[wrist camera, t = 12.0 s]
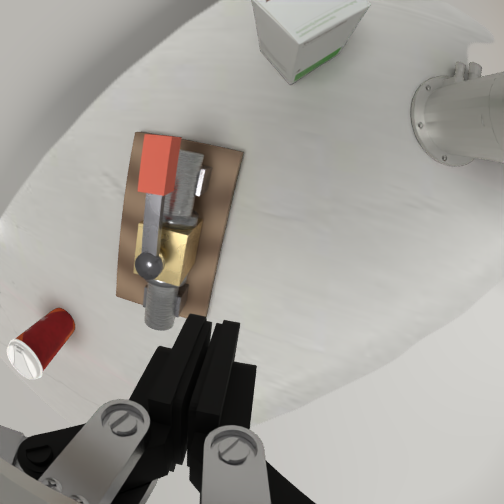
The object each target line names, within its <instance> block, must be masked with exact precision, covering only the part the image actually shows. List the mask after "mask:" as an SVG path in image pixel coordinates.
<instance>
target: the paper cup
mask: <svg viewBox="0 0 504 504" xmlns="http://www.w3.org/2000/svg"><path fill="white" fill-rule="evenodd" d="M74 330H75V323H74V320H73V318H72V317H71V315H70V314H69V313H68V312H67V311H65V310H64V309H61V308H56V309H54V310H53V311H51V312H50V313H48V314H47V315H46V316H44V317H43V318H42V319H40V320H39V321H38V322H36V323H35V324H34V325H32V326H31V327H30V328H29V329H27V330H26V331H25V332H23V333H22V334H21V335H20V336H18V337H17V338H16V339H11V340H10V342H9V346H8V347H7V355H8V358H9V360H10V362H11V364H12V365H13V367H14V368H15V369H16V370H17V371H18V372H19V373H20V374H21V375H22V376H24V377H25V378H27V379H30V380H34V379H37V378H40V377H41V376H42V375H43V371H44V369H45V368H46V367H47V365H48V364H49V363H50V362H51V360H52V359H53V358H54V356H55V355H56V354H57V352H58V351H59V350H60V349H61V347H62V346H63V345H64V344H65V342H66V341H67V340H68V338H69V337H70V336H71V334H72V333H73V332H74Z"/></svg>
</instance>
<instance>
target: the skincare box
mask: <svg viewBox="0 0 504 504" xmlns="http://www.w3.org/2000/svg"><path fill="white" fill-rule="evenodd" d="M251 2H252V6H253V11H254V16H255V22H256V27H257V33H258V39H259V46H260V51H261V52H262V53H263V55H264V56H265V57H266V58H267V59H268V60H269V61H270V63H271V64H272V65H273V66H274V67H275V68H276V69H277V70H278V72H279V73H280V74H281V75H282V76H283V77H284V79H285V80H286V81H287V82H288V83H289V84H290V85H291V84H293V83H294V82H296V81H297V80H299V79H300V78H302V77H303V76H305V75H307V74H308V73H310V72H311V71H313V70H314V69H316V68H317V67H319V66H320V65H322V64H323V63H325V62H327V61H328V60H330V59H332V58H333V57H335V56H337V55H338V54H339V53H340V51H341V50H342V48H343V46H344V45H345V43H346V42H347V40H348V39H349V37H350V36H351V34H352V33H353V31H354V30H355V28H356V26H357V25H358V23H359V22H360V20H361V19H362V17H363V16H364V14H365V13H366V11H367V10H368V8H369V7H370V6H371V4H370V3H369V2H368V0H251Z"/></svg>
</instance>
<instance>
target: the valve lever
mask: <svg viewBox="0 0 504 504" xmlns="http://www.w3.org/2000/svg"><path fill="white" fill-rule="evenodd" d="M181 138H182V137H174V136H165V135H155V134H145V135H144V142H143V149H142V156H141V164H140V173H139V182H138V192H143V193H146V199H145V210H144V222H143V235H142V251H141V254H140V255H139V256H138V257H137V258H136V260H135V269H136V271H137V273H138V274H139V275H140V276H141V277H142V278H144V279H147V280H152V279H155V278H156V277H158V275H159V274H160V273H161V272H162V271H163V269H164V267H165V259H164V257H163V255H162V254H161V253H160V244H161V233H162V222H163V212H164V203H165V195H167V194H169V193H171V192H173V191H174V186H175V178H176V171H177V164H178V157H179V151H180V144H181Z"/></svg>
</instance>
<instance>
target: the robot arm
mask: <svg viewBox="0 0 504 504" xmlns="http://www.w3.org/2000/svg"><path fill="white" fill-rule="evenodd" d="M481 71H482V67H481V66H480V65H479V64H477V63H474V62H470V63H469V71H468V80H467V81H465V80H464V79H463V77H464V73H465V64H463V63H461V62H456V67H455V76H453V77H447V76H438V77H434V78H431V79H429V80H427V81H425V82H424V83H423V84H422V85H420V87H419V88H418V90H417V91H416V93H415V95H414V97H413V101H412V106H411V119H412V126H413V129H414V133H415V135H416V137H417V140H418V142H419V143H420V145H421V146H422V148H423V149H424V150H425V151H426V153H427V154H428V155H429V156H431V157H432V158H433V159H434V160H436V161H438V162H440V163H441V164H445V165H448V166H463V165H466V164H468V163H470V162H471V161H473V160H474V159H475V158H477V159H484V160H489V161H495V162H501V163H504V72H501V73H496V74H492V75H487V76H483V77H481ZM426 88H427V90H426ZM418 124H419V127H418ZM442 157H443V158H442ZM206 320H207V319H206V316H201V315H196V314H191V313H190V314H189V315H188V317H187V319H186V321H185V323H184V325H183V327H182V329H181V331H180V333H179V335H178V337H177V339H176V341H175V344H174V346H173V348H172V349H171V348H167V347H163V346H159V347H158V348H157V349H156V351H155V353H154V355H153V356H152V358H151V360H150V362H149V364H148V365H147V367H146V369H145V371H144V373H143V375H142V376H141V378H140V380H139V382H138V384H137V386H136V388H135V389H134V391H133V393H132V395H131V397H130V399H129V400H124V399H118V400H112V401H109V402H107V403H105V404H103V405H102V406H101V407H100V408H99V409H98V410H97V411H96V412H95V414H94V415H93V416H92V417H91V418H90V419H89V421H88V422H87V423H85V424H82V425H78V426H74V427H70V428H66V429H61V430H57V431H53V432H48V433H43V434H38V435H34V436H31V437H25V436H24V434H23V433H21V432H18V431H15V430H12V429H9V428H6V427H4V426H1V425H0V504H145V503H146V502H147V500H148V498H149V496H150V494H151V493H152V491H153V489H154V487H155V486H156V483H157V480H158V478H161V477H163V476H166V475H168V472H169V471H172V472H174V469H175V466H176V464H180V465H182V464H183V461H184V458H185V454H186V451H187V466H188V467H190V477H189V480H190V481H191V483H192V484H193V485H194V486H195V488H196V489H197V490H198V491H199V492H200V504H315V503H314V502H313V501H312V500H310V499H309V498H308V497H307V496H306V495H304V494H303V493H302V492H301V491H299V490H298V489H297V488H296V487H295V486H294V485H293V484H291V483H290V482H289V481H288V480H287V479H286V478H285V477H283V476H282V475H281V474H280V473H279V472H278V471H277V470H275V469H274V468H273V467H272V466H271V465H270V464H269V463H268V462H267V461H266V460H265V452H264V446H263V443H262V441H261V439H260V438H259V437H258V436H257V435H256V434H255V433H254V432H252V431H251V430H249V429H250V421H251V412H252V404H253V395H254V386H255V377H256V368H257V366H256V365H251V364H245V363H239V362H234V359H235V353H236V346H237V340H238V334H239V328H240V323H238V322H232V321H227V320H224V321H223V324H219V323H216V326H215V329H214V332H213V335H212V338H211V341H210V337H211V328H212V322H209V321H206Z"/></svg>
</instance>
